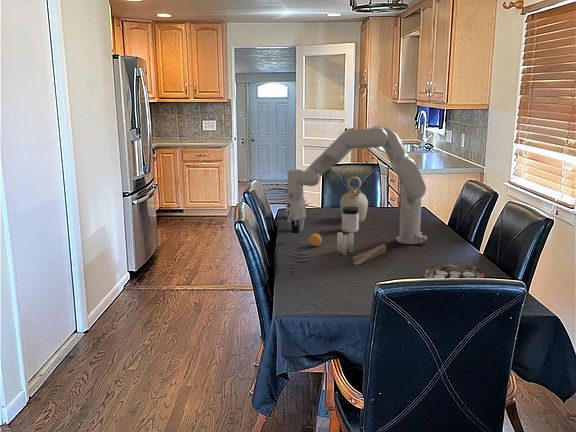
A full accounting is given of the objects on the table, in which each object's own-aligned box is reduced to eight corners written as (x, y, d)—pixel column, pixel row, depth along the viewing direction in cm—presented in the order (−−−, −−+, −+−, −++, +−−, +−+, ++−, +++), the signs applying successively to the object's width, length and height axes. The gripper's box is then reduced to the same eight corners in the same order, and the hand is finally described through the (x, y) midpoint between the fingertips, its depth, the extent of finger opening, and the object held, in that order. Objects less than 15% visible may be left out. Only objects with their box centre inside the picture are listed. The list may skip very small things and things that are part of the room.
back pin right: (354, 251, 239) (354, 233, 237) (351, 252, 237) (351, 234, 235) (350, 250, 240) (350, 232, 239) (347, 251, 239) (347, 233, 237)
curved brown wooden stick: (386, 251, 238) (386, 245, 237) (356, 265, 220) (357, 258, 219) (382, 250, 239) (382, 244, 238) (352, 264, 221) (352, 257, 221)
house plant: (314, 226, 285) (314, 196, 281) (313, 233, 272) (313, 202, 268) (288, 226, 286) (287, 196, 283) (285, 232, 273) (285, 201, 269)
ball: (324, 245, 249) (324, 233, 248) (316, 248, 244) (316, 236, 243) (314, 243, 253) (313, 231, 251) (306, 246, 248) (306, 234, 247)
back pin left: (348, 254, 235) (348, 235, 233) (345, 255, 233) (345, 236, 232) (343, 253, 237) (343, 234, 235) (340, 254, 235) (340, 236, 233)
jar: (343, 232, 271) (343, 210, 268) (340, 228, 279) (340, 206, 276) (360, 231, 272) (361, 209, 270) (356, 228, 280) (356, 205, 277)
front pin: (343, 251, 240) (343, 233, 238) (340, 252, 238) (340, 234, 236) (339, 250, 241) (339, 232, 239) (336, 251, 240) (336, 233, 238)
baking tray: (424, 270, 214) (424, 257, 213) (481, 273, 209) (481, 260, 208) (423, 297, 186) (423, 282, 185) (488, 301, 181) (489, 286, 179)
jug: (366, 223, 289) (367, 178, 283) (338, 223, 292) (338, 178, 286) (368, 217, 303) (369, 174, 298) (341, 216, 306) (341, 174, 301)
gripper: (291, 199, 243) (291, 237, 247) (311, 194, 254) (311, 231, 258) (279, 197, 247) (279, 234, 252) (299, 192, 259) (299, 228, 263)
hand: (295, 232), depth 255 cm, fingers closed
